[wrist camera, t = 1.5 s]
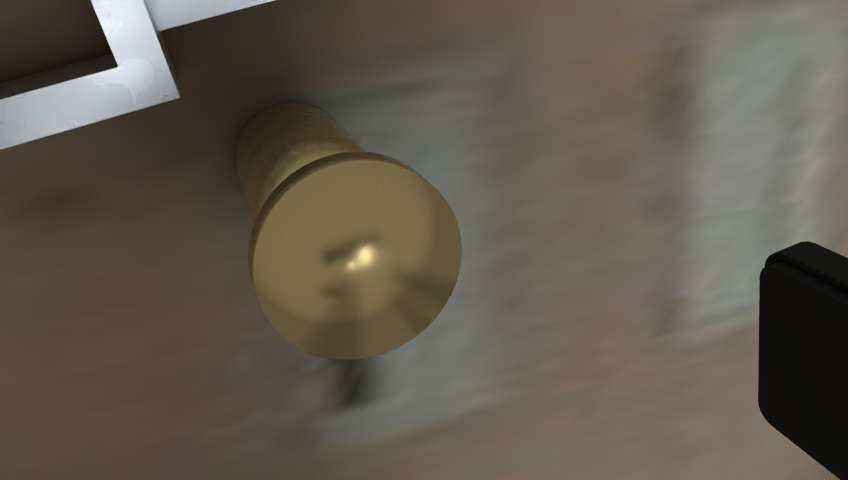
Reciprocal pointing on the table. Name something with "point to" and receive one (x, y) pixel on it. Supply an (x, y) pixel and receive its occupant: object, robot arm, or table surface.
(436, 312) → the pin
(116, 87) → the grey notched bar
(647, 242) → the table surface
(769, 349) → the robot arm
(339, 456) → the table surface
